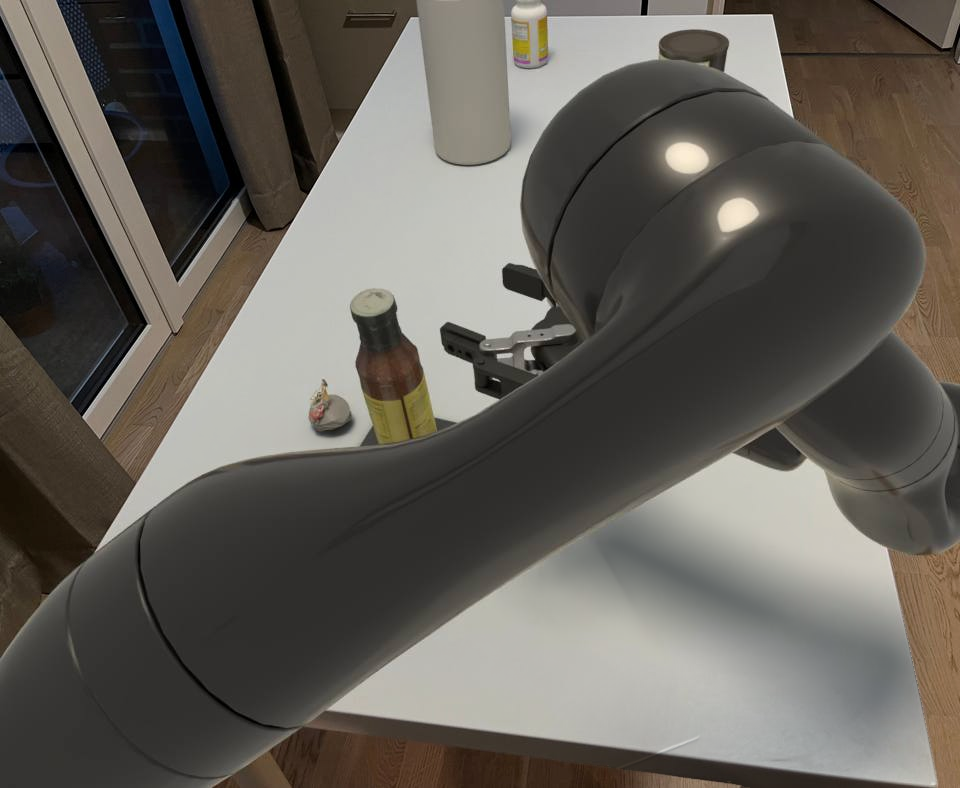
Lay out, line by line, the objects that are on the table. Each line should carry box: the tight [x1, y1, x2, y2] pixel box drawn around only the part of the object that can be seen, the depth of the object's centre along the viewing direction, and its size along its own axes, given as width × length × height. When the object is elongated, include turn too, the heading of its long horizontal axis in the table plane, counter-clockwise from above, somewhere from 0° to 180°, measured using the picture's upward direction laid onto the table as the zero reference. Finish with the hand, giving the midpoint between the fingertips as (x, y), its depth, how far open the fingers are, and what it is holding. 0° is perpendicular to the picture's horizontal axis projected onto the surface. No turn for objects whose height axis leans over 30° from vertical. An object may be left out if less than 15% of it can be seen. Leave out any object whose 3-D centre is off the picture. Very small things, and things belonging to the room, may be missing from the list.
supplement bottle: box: [510, 0, 549, 69], centre depth 148 cm, size 7×7×13 cm
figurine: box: [308, 378, 353, 432], centre depth 86 cm, size 5×4×6 cm
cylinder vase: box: [415, 0, 512, 166], centre depth 121 cm, size 12×12×25 cm
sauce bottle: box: [349, 287, 437, 444], centre depth 77 cm, size 6×6×20 cm
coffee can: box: [657, 28, 730, 73], centre depth 124 cm, size 10×10×14 cm
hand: (474, 303), depth 62 cm, fingers open, 8 cm apart
